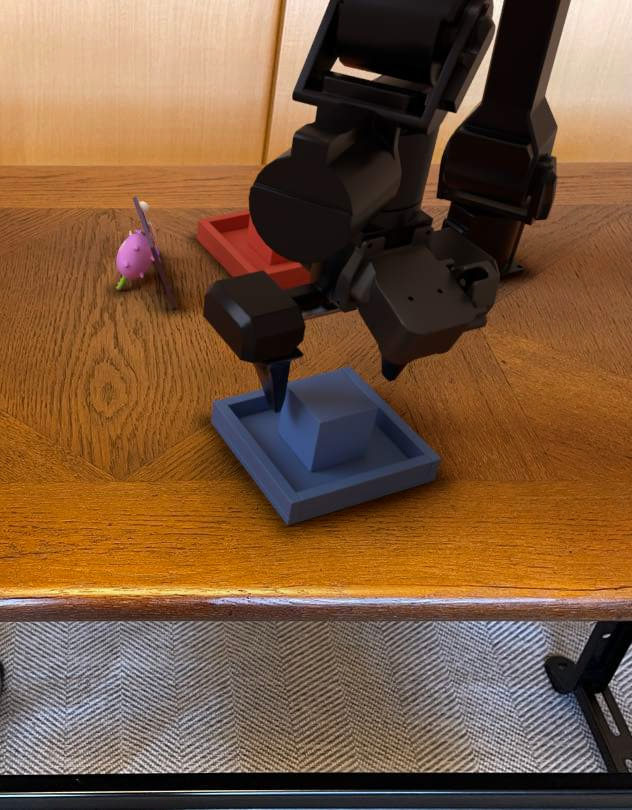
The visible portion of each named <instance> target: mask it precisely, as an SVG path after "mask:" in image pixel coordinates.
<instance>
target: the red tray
mask: <svg viewBox="0 0 632 810" xmlns="http://www.w3.org/2000/svg"><path fill="white" fill-rule="evenodd" d="M249 219H250V212H249V209H245V210H241V211H235V212H229V213H223V214H219V215H215V216H209V217H206V218H199V219H197V230H196V240H197V241H198V242H199V243H200V244H201V246H202V247H204V248H205V250H207V252H209V254H210V255H211V256H212V257H213V258H214V259H215V260H216V261H217V262H218V263H219V264H220V266H222V268H223V269H224V270H225V271H226V272H227V273H228V274H229V275H230V276H231V277H235V276H239V275H244V274H248V273H253V272H257V271H261V270H264V271H265V272H266V273H267V274H268V275H269V276H270V277H271V278H272V279H273V280H274V281H275V282H276V283H277V284H278V285H279V286H280V287H281V288H282V289H287V288H292V287H296V286H300V285H304V284H309V283H310V281H309V276H310V273H309V272H308V271H307V270H306V269H305V268H304V267H303V266H302V265H301V264H300V263H297V262H293V261H287V262H283V263H278V264H273V265H270V264H268V263H267V262H266V261H265V260H264V259H263V258H262V257H261V256H260V255H259V254H258V253H257V252H256V251H255V250H254V249H253V248H252V247H251V246H250V245H249V244H248V243H247V236H248V228H249Z"/></svg>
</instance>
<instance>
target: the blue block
mask: <svg viewBox="0 0 632 810" xmlns="http://www.w3.org/2000/svg"><path fill="white" fill-rule="evenodd" d="M335 370H336V371H334V370H332V371H333V372H330V371H328V372H329V373H326V372H324V373H325V374H322V373H320V374H321V375H318V374H316V375H317V376H314V375H313V376H314V377H310V376H309V377H310V378H306V377H305V378H306V379H303V378H301V379H302V380H299V379H297V380H298V381H295V380H294V381H295V382H291V381H290V382H291V383H288V384H287V390H286V396H285V401H284V404H283V407H282V410H281V414H280V420H279V426H278V434H279V435H280V436H281V437H282V438H283V440H284V441H285V442H286V443H287V445H288V446H289V447H290V448H291V449H292V451H293V452H294V453H295V454H296V455H297V457H298V458H299V459H300V460H301V461H302V463H303V464H304V465H305V466H306V467H307V469H308V470H309V471H310V472H313V471H317V470H320V469H323V468H327V467H330V466H333V465H337V464H340V463H344V462H347V461H350V460H354V459H357V458H360V457H364V456H366V453H367V449H368V445H369V441H370V437H371V433H372V429H373V425H374V421H375V417H376V413H377V409H378V407H377V406H376V405H375V404H374V403H373V402H372V400H371V399H370V398H369V397H368V396H367V395H366V394H365V393H364V392H363V391H362V390H361V389H360V388H359V387H358V386H357V385H356V384H355V383H354V382H353V381H352V380H351V379H350V378H349V377H348V376H347V375H346V374H345V373H344V372H343V371H342V370H337V369H335Z"/></svg>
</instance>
